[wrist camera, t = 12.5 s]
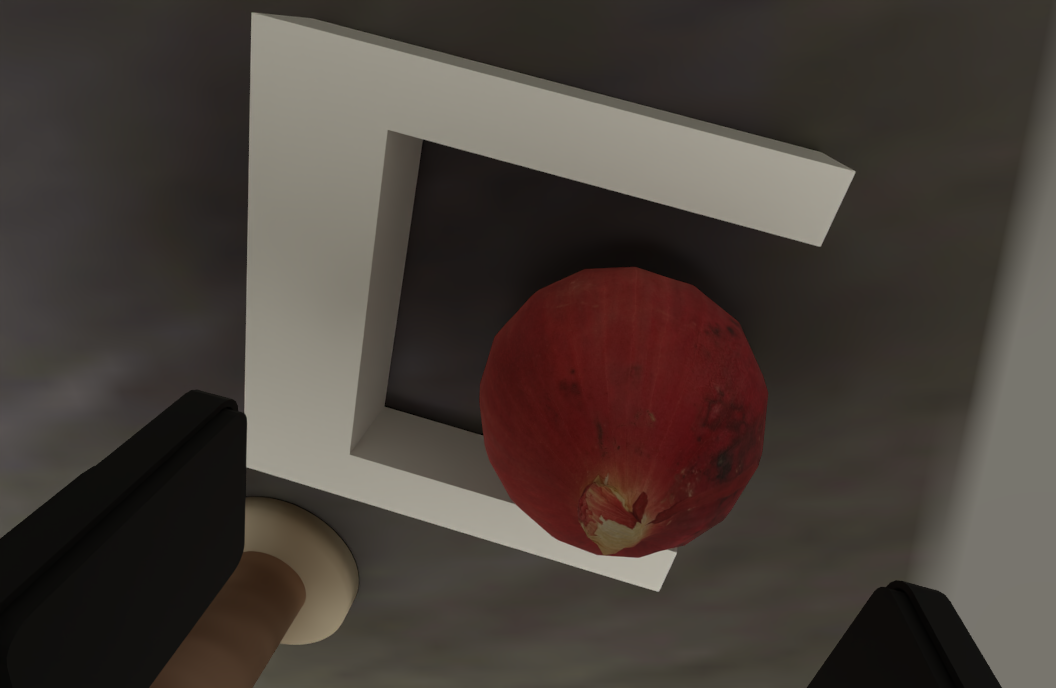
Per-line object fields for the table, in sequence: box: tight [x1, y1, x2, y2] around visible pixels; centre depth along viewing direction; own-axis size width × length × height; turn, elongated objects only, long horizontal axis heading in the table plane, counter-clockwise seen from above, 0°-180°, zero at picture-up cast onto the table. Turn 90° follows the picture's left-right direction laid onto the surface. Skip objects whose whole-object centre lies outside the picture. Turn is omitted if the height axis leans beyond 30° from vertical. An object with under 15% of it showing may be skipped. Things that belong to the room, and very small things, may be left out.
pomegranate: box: [479, 267, 768, 558], centre depth 13 cm, size 6×6×8 cm
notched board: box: [244, 12, 856, 592], centre depth 15 cm, size 12×12×2 cm
